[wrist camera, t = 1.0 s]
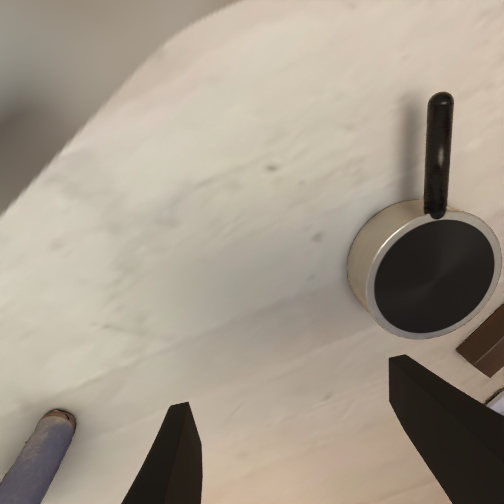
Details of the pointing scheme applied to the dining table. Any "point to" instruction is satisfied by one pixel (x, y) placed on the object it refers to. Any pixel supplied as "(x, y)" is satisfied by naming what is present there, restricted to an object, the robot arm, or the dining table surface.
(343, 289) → the dining table surface
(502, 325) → the corner stop
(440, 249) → the steel pan
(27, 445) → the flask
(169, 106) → the dining table surface
